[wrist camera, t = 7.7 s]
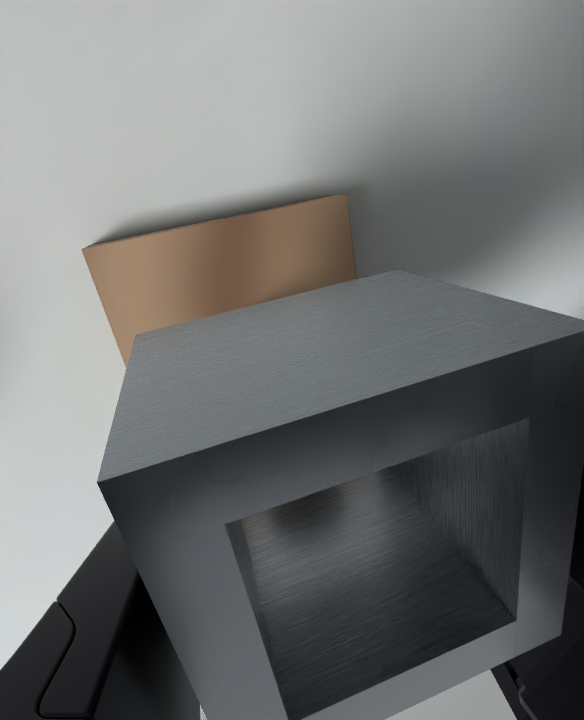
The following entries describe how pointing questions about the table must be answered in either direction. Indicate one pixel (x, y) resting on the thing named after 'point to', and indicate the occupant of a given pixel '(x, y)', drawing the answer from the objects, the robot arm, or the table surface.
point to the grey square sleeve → (351, 492)
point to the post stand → (220, 265)
